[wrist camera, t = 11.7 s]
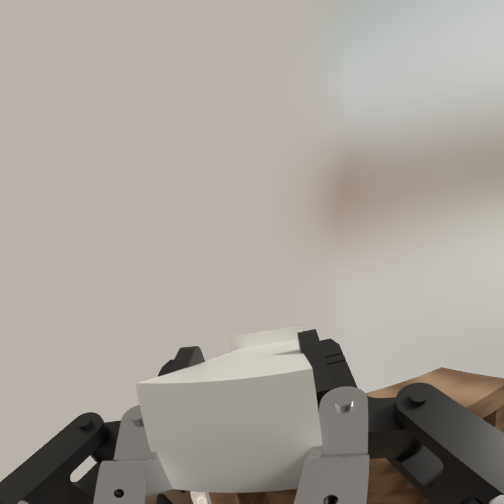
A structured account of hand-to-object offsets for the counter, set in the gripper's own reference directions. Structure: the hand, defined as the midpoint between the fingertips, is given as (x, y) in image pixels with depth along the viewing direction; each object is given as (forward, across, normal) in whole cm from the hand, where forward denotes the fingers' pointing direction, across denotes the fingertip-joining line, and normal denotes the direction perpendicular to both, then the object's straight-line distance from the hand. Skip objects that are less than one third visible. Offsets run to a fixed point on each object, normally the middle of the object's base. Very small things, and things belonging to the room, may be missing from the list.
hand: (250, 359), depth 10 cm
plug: (+3, 0, +5) cm, 5 cm away
